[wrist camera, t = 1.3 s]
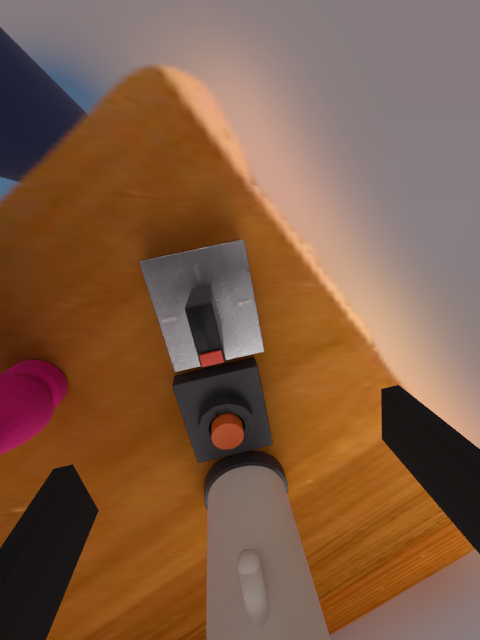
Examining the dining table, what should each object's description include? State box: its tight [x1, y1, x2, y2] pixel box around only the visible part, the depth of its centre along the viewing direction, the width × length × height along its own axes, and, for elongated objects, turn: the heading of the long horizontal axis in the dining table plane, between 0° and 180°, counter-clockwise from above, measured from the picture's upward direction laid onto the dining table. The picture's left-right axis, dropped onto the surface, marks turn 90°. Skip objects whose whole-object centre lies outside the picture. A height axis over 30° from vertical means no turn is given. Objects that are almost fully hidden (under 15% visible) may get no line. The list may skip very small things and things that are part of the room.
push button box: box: [172, 358, 273, 463], centre depth 31 cm, size 12×10×4 cm
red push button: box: [211, 413, 244, 450], centre depth 29 cm, size 4×4×2 cm
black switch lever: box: [185, 285, 226, 368], centre depth 22 cm, size 5×2×7 cm, turn 11°
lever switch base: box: [139, 239, 264, 372], centre depth 27 cm, size 12×10×3 cm
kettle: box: [204, 451, 330, 640], centre depth 28 cm, size 17×12×19 cm
